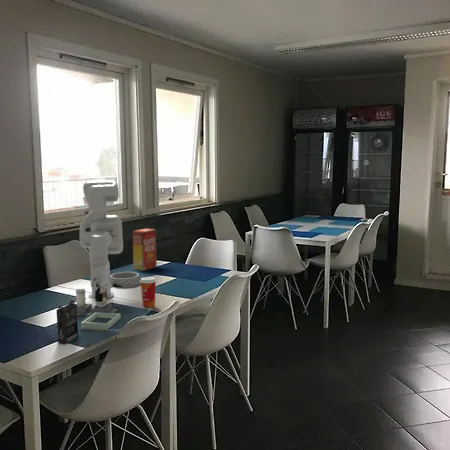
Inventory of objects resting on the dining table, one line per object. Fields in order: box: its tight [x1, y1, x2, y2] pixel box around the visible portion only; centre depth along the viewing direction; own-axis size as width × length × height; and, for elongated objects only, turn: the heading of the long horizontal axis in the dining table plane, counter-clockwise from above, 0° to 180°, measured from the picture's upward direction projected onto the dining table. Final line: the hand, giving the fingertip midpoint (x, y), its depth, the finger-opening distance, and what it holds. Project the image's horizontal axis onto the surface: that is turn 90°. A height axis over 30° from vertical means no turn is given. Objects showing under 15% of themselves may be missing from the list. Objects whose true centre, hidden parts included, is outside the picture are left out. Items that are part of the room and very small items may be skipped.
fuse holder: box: [77, 302, 118, 316], centre depth 234 cm, size 10×22×4 cm, turn 80°
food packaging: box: [132, 227, 157, 272], centre depth 324 cm, size 13×9×25 cm
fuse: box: [75, 288, 87, 308], centre depth 234 cm, size 4×4×10 cm
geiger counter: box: [56, 300, 79, 346], centre depth 200 cm, size 10×4×15 cm, turn 163°
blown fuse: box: [96, 285, 107, 308], centre depth 233 cm, size 4×4×10 cm
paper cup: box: [140, 276, 157, 309], centre depth 243 cm, size 8×8×14 cm
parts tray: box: [80, 312, 122, 332], centre depth 218 cm, size 14×12×3 cm
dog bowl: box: [110, 271, 141, 289], centre depth 287 cm, size 17×18×5 cm
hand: (101, 299), depth 233 cm, fingers closed on blown fuse, 4 cm apart
